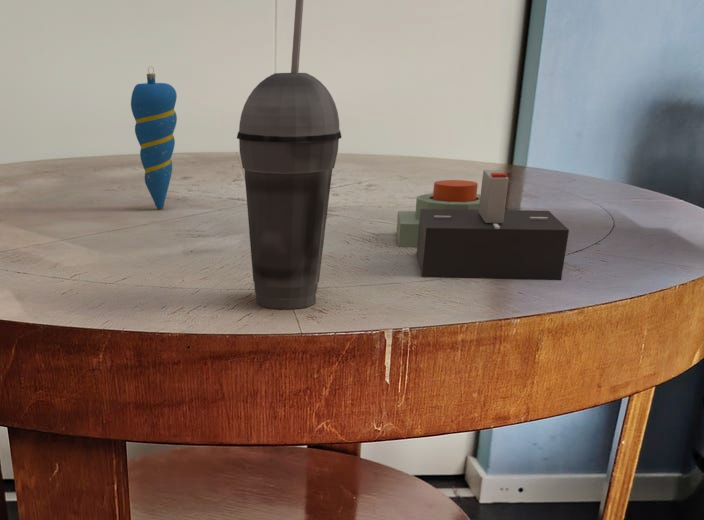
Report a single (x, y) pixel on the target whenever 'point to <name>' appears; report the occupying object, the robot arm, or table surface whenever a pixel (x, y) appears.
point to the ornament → (155, 133)
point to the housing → (410, 219)
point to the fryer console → (491, 245)
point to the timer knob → (493, 196)
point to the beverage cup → (288, 180)
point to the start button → (455, 191)
